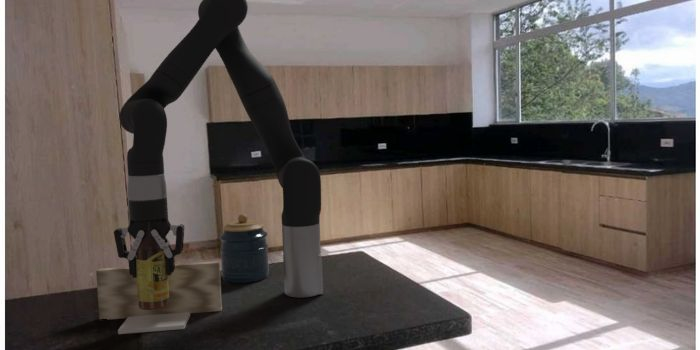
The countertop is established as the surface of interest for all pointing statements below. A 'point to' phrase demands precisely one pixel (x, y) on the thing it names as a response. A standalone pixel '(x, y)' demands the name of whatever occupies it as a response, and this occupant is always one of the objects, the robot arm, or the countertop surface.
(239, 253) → the canister
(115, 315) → the birch board
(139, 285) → the sauce bottle
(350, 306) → the countertop surface
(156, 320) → the white plate
